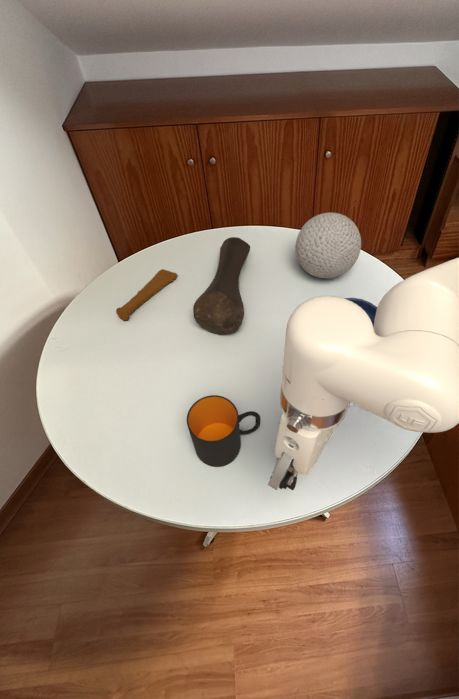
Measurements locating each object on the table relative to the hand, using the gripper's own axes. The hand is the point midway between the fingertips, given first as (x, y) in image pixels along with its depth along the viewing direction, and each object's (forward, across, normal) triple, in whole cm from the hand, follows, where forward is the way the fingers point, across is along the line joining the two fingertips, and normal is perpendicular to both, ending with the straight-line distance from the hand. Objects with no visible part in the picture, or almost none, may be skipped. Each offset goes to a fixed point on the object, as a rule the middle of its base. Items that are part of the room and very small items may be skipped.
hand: (300, 454), depth 54 cm
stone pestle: (+10, +30, +35) cm, 47 cm away
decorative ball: (+10, +50, +19) cm, 54 cm away
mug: (+10, -1, +13) cm, 16 cm away
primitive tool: (+10, +20, +52) cm, 57 cm away
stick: (+10, 0, +1) cm, 10 cm away
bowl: (+10, +34, +5) cm, 36 cm away
